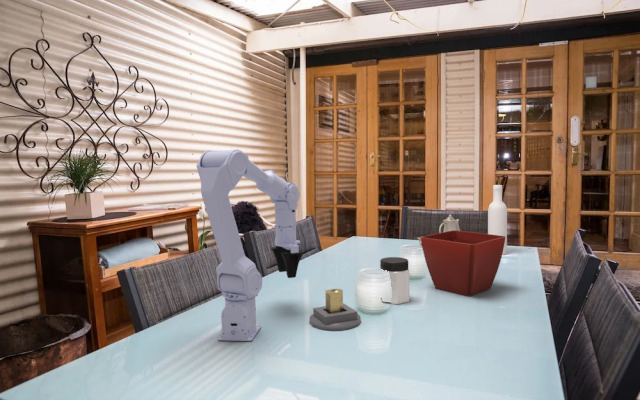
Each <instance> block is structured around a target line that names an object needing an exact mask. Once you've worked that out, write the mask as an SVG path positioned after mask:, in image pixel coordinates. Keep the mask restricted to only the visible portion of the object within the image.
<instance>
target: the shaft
mask: <svg viewBox="0 0 640 400" xmlns="http://www.w3.org/2000/svg"><path fill="white" fill-rule="evenodd" d="M343 303H344V293H343V289H342V288H330V289H325V306H326V312H327V313H329V314H332V313H338V312H343Z"/></svg>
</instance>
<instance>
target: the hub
mask: <svg viewBox="0 0 640 400" xmlns="http://www.w3.org/2000/svg"><path fill="white" fill-rule="evenodd" d="M312 310H313V311H312V312H313V313H312V314H311V315H310V316H309V324H310V325H311V326H312V327H313V328H316V329H318V330H322V331H330V332H333V331H335V332H337V331H341V332H342V331H348V330H351V329H354V328H357V327H358V326H359V325H360V324H361V315H360V314H359V313H358V311H357V310H356V309H354V308H352V307H351V306H348V305H347V304H346V303H344V302H343V312H338V313H332V314H329V313H327V312H326V305H325V306H319V307H318V306H317V307H313V308H312Z"/></svg>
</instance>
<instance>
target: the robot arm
mask: <svg viewBox="0 0 640 400" xmlns="http://www.w3.org/2000/svg"><path fill="white" fill-rule="evenodd" d="M196 169H197V173H198V176H199V179H200V194H201V198H202V201H203V204H204V208H205V211H206V215H207V218H208V220H209V224H210V227H211V230H212V233H213V238H214V240H215V243H216V247H217V251H218V253H219V256H220V260H221V262H220V263H219V265H217V267H216V269H215V272H216V286H217V288H218V291H220V292H221V293H222V297H223V298H224V302H225V303H224V307H223V309H222V311H221V315H220V317H221V319H220V320H221V334H220V336H219V337H218V338H217V339H218V341H229V342H231V341H234V342H235V341H236V342H237V341H238V342H251V341H253V340H254V338H255V336H256V335H257V334H258V332H259V331H260V329H261V327H262V325H261V324H257V311H256V310H257V308H256V305H257V304H256V303H257V302H256V297H258V296H259V293H260V292H261V290H262V288H263V287H262V286H263V278H262V277H263V276H262V274H261V273H260V272H259V270H258V268H257V266H256V263H254V261H253V260H251V259H250V258H248V257H247V256H246V254H245V250H244V248H243V242H242V240H241V235H240V234H239V230H238V229H239V228H238V225H237V222H236V219H235V215H234V212H233V208H232V205H231V202H230V197H229V194H230V192H232V190H234V189H235V187H236V186H237V185H238V184H239V182H240V181H241V179H242V178H243V177H244V178H246V179H248V180H250V181H252V182H253V183H256V184H255V185H256V188H257V190H259V191H260V192H262V193H264V194H265V195H267V196H268V197H269V198H270V201H271V203H274V226H275V229H274V230H275V231H274V232H275V238H274V246H273V247H271V248H270V250H271V252H272V254H273V256H274V258H275V261H276V266H277V270H278V272H279V273H284V272H286V277H287V278H288V279H293V278H296V277H297V272H298V268H299V264H300V261H301V259H302V257H303V255H304V254H303V253H304V252H303V251H299V249H300V248H299V247H300V246H299V245H298V244H301V240H298V239H297V216H296V211H297V209H298V202H299V199H300V191H299V187H298V186H297V185H296V184H295V183H294V182H287V181H286V180H285V178H283V177H280V176H279V175H277V174H276V171H275V170H273V169H270V170H269V169H268V170H265V171H264V170H263V169H261V168H260V167H259V166H258V165H257V164H255V163H254V162H253V161H252V160H250V158H249V155H248V154H247V153H244V152H243V151H242V150H240V149H238V148H237V149H230V150H215V151H214V150H206V151H204V152H203V153H201V155H200V156H199V159H198V162H197V163H196Z"/></svg>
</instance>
